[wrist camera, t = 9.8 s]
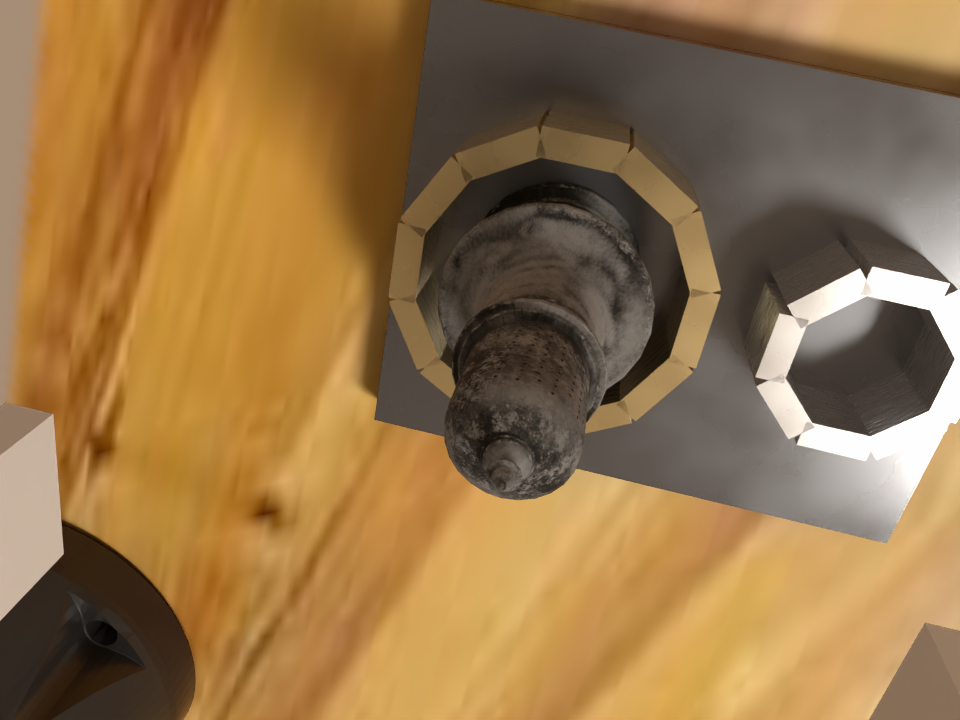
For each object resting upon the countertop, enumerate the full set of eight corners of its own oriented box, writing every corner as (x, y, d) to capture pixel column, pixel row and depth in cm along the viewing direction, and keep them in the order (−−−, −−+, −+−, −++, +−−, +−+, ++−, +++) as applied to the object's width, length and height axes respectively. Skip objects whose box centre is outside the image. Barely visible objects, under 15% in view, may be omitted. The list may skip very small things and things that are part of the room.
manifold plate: (383, 403, 30) (353, 457, 26) (441, -10, 23) (410, -7, 20) (877, 521, 28) (909, 594, 25) (1080, 119, 22) (1160, 145, 19)
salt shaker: (583, 131, 23) (546, 271, 12) (687, 294, 25) (733, 542, 14) (423, 240, 25) (276, 437, 15) (529, 383, 27) (465, 655, 16)
